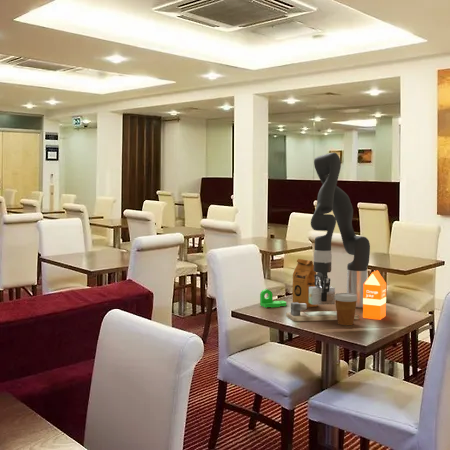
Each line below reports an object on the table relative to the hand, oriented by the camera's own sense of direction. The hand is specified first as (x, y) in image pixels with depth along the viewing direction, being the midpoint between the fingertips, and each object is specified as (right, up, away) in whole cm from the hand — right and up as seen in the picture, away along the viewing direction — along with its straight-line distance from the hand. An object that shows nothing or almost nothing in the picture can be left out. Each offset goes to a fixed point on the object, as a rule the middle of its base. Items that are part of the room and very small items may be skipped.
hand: (321, 299), depth 250 cm
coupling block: (0, -1, 0) cm, 1 cm away
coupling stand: (0, -8, 0) cm, 8 cm away
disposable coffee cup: (+8, -8, -12) cm, 16 cm away
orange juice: (+23, -8, +2) cm, 25 cm away
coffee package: (-3, -6, +28) cm, 29 cm away
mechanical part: (-18, -7, +26) cm, 32 cm away
